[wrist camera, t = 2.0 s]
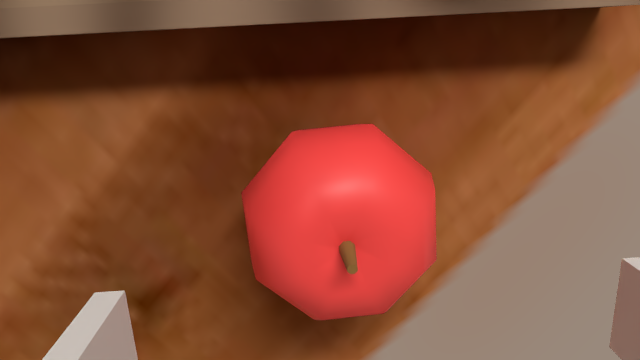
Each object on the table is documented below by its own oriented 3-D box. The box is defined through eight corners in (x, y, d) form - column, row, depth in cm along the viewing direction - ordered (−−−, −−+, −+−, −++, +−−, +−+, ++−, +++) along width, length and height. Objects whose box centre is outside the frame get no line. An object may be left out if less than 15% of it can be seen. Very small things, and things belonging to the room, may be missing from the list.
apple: (297, 291, 24) (300, 411, 17) (214, 156, 22) (173, 223, 14) (442, 219, 24) (513, 310, 16) (370, 72, 21) (415, 96, 14)
